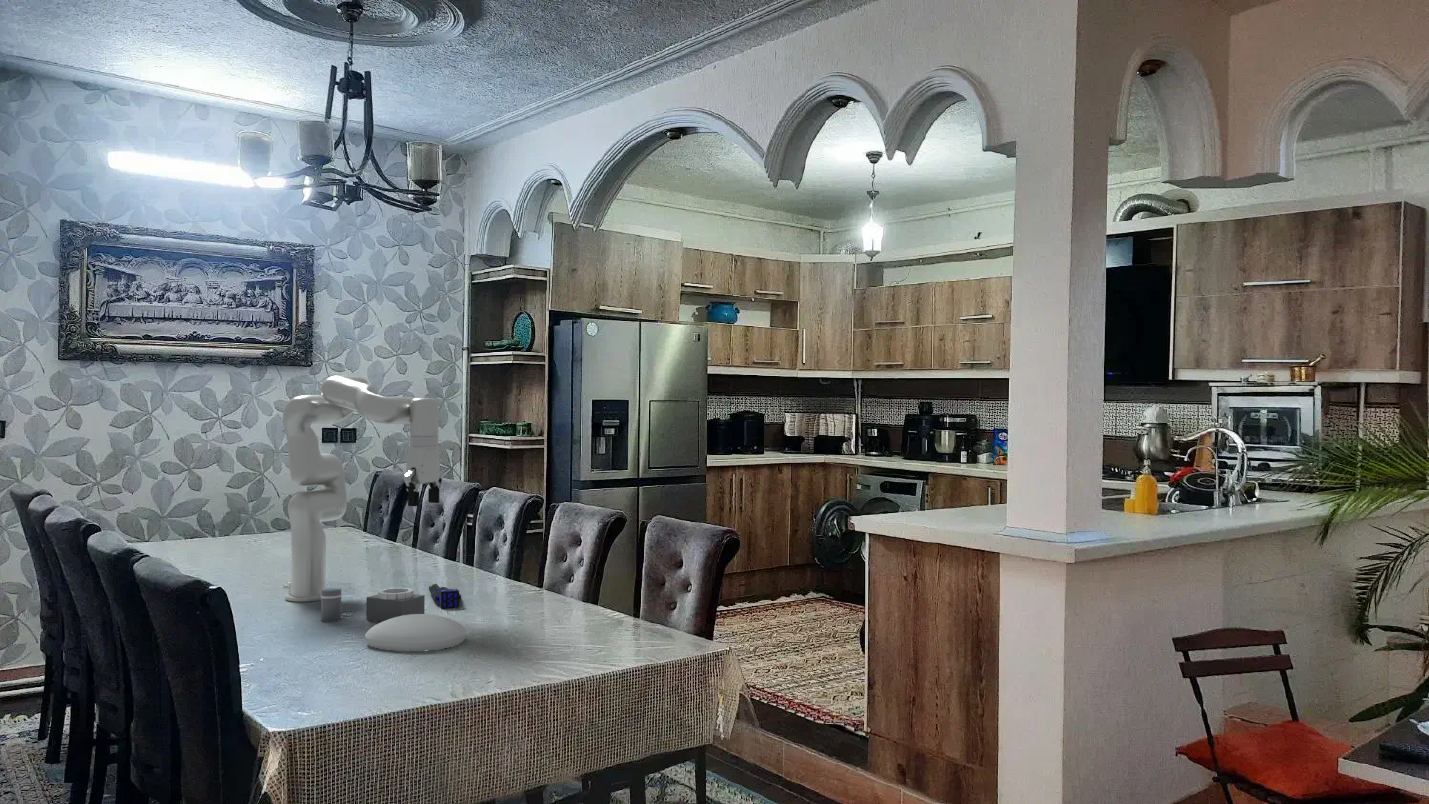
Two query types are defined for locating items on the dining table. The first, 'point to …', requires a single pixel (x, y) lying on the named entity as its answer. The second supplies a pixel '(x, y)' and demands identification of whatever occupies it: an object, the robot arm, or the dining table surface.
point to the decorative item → (416, 633)
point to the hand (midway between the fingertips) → (423, 504)
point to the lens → (330, 605)
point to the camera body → (394, 604)
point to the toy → (445, 596)
